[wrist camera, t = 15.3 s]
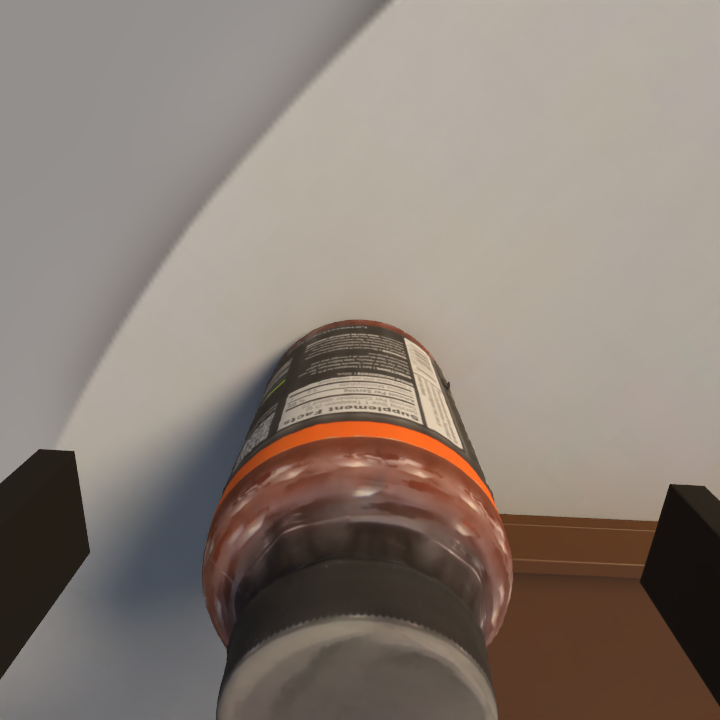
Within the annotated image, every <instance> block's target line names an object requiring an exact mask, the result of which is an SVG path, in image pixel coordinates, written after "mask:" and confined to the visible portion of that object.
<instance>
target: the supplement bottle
mask: <svg viewBox="0 0 720 720" xmlns="http://www.w3.org/2000/svg"><path fill="white" fill-rule="evenodd" d="M512 582H513V571H512V555H511V549H510V546H509V541H508V539H507V536H506V532H505V529H504V526H503V524H502V521H501V519H500V516H499V514H498V511H497V509H496V506H495V503H494V498H493V494H492V491H491V490H490V488H489V486H488V485H487V483H486V480H485V477H484V474H483V472H482V469H481V467H480V465H479V462H478V460H477V457H476V455H475V452H474V449H473V447H472V445H471V442H470V440H469V438H468V436H467V433H466V431H465V428H464V425H463V423H462V420H461V418H460V415H459V413H458V410H457V408H456V406H455V402H454V400H453V398H452V395H451V391H450V382H448V384H447V382H446V380H445V378H444V376H443V374H442V371H441V369H440V368H439V366H438V365H437V363H436V361H435V360H434V359H433V357H432V356H431V355H430V353H429V352H428V351H427V350H426V349H425V348H424V347H423V346H422V345H421V344H420V343H419V342H418V341H416V340H415V339H414V338H413V337H412V336H410V335H408V334H407V333H405V332H403V331H402V330H400V329H398V328H396V327H394V326H390V325H388V324H384V323H381V322H376V321H369V320H346V321H340V322H335V323H331V324H328V325H325V326H322V327H320V328H317V329H315V330H313V331H311V332H310V333H309V334H307V335H306V336H305V337H303V338H302V339H300V340H299V341H298V342H297V343H295V344H294V345H293V346H292V347H291V348H290V349H289V351H288V352H287V353H286V354H285V355H284V357H283V358H282V359H281V361H280V363H279V364H278V366H277V368H276V369H275V371H274V373H273V375H272V377H271V379H270V381H269V383H268V386H267V388H266V390H265V392H264V396H263V398H262V400H261V402H260V405H259V407H258V409H257V412H256V414H255V417H254V419H253V422H252V424H251V426H250V428H249V431H248V433H247V436H246V438H245V441H244V444H243V446H242V449H241V451H240V453H239V455H238V458H237V460H236V462H235V465H234V467H233V470H232V473H231V475H230V477H229V480H228V482H227V484H226V486H225V488H224V490H223V494H222V498H221V500H220V502H219V505H218V507H217V510H216V512H215V514H214V517H213V519H212V523H211V526H210V529H209V532H208V537H207V542H206V546H205V550H204V555H203V566H202V587H203V593H204V597H205V603H206V607H207V610H208V613H209V615H210V618H211V621H212V624H213V626H214V628H215V630H216V632H217V634H218V636H219V637H220V639H221V640H222V642H223V644H224V646H225V647H226V649H227V663H226V667H225V671H224V675H223V679H222V682H221V686H220V691H219V696H218V702H217V710H216V720H498V711H497V703H496V695H495V690H494V687H493V682H492V676H491V670H490V667H489V664H488V662H487V660H488V652H487V648H488V647H489V646H490V645H491V644H492V642H493V640H494V638H495V636H496V635H497V633H498V631H499V629H500V628H501V626H502V624H503V620H504V616H505V614H506V611H507V607H508V604H509V601H510V598H511V591H512Z"/></svg>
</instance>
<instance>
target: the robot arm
mask: <svg viewBox="0 0 720 720" xmlns="http://www.w3.org/2000/svg"><path fill="white" fill-rule="evenodd" d="M89 553H90V549H89V542H88V536H87V529H86V523H85V517H84V510H83V504H82V497H81V491H80V485H79V478H78V472H77V465H76V459H75V453H74V451H62V450H44V449H39V450H38V451H37V452H36V453H35V454H33V455H32V456H31V457H30V458H29V459H28V460H27V461H25V462H24V463H23V464H22V465H21V466H20V467H19V468H17V469H16V470H15V471H14V472H13V473H12V474H11V475H10V476H8V477H7V478H6V479H5V480H4V481H3V482H2V483H0V679H1V678H2V676H3V675H4V673H5V672H6V671H7V669H8V668H9V666H10V665H11V664H12V662H13V661H14V659H15V658H16V656H17V655H18V654H19V652H20V651H21V649H22V648H23V647H24V645H25V644H26V642H27V641H28V639H29V638H30V637H31V635H32V634H33V632H34V631H35V630H36V628H37V627H38V625H39V624H40V623H41V621H42V620H43V618H44V617H45V615H46V614H47V613H48V611H49V610H50V608H51V607H52V606H53V604H54V603H55V601H56V600H57V598H58V597H59V596H60V594H61V593H62V591H63V590H64V589H65V587H66V586H67V584H68V583H69V582H70V580H71V579H72V577H73V576H74V574H75V573H76V572H77V570H78V569H79V567H80V566H81V565H82V563H83V562H84V560H85V559H86V557H87V556H88V555H89ZM640 584H641V585H642V587H643V588H644V590H645V591H646V593H647V594H648V596H649V598H650V599H651V601H652V602H653V604H654V605H655V607H656V608H657V610H658V612H659V613H660V615H661V616H662V618H663V619H664V621H665V622H666V624H667V626H668V627H669V629H670V630H671V632H672V633H673V635H674V636H675V638H676V640H677V641H678V643H679V644H680V646H681V647H682V649H683V650H684V652H685V654H686V655H687V657H688V658H689V660H690V661H691V663H692V664H693V666H694V668H695V669H696V671H697V672H698V674H699V675H700V677H701V678H702V680H703V682H704V683H705V685H706V686H707V688H708V689H709V691H710V692H711V694H712V696H713V697H714V699H715V700H716V702H717V703H718V705H719V706H720V501H719V500H718V499H717V498H716V497H715V496H714V495H713V494H712V493H711V492H710V491H709V490H708V489H707V488H706V487H705V486H694V485H676V484H670V485H669V489H668V492H667V495H666V498H665V502H664V505H663V508H662V511H661V514H660V518H659V521H658V524H657V527H656V531H655V534H654V537H653V540H652V544H651V547H650V550H649V553H648V557H647V560H646V563H645V566H644V569H643V573H642V576H641V579H640Z"/></svg>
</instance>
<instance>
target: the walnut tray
mask: <svg viewBox="0 0 720 720" xmlns="http://www.w3.org/2000/svg"><path fill="white" fill-rule="evenodd" d="M499 516H500V519H501V521H502V524H503V526H504V529H505V532H506V536H507V539H508V541H509V546H510V549H511V555H512V571H513V582H512V591H511V598H510V601H509V604H508V607H507V611H506V614H505V616H504V620H503V624H502V626H501V628H500V629H499V631H498V633H497V635H496V636H495V638H494V640H493V642H492V644H491V645H490V646H489V647H488V648H487V652H488V660H487V662H488V664H489V667H490V670H491V676H492V682H493V687H494V690H495V695H496V703H497V711H498V720H720V706H719V705H718V703H717V702H716V700H715V699H714V697H713V696H712V694H711V692H710V691H709V689H708V688H707V686H706V685H705V683H704V682H703V680H702V678H701V677H700V675H699V674H698V672H697V671H696V669H695V668H694V666H693V664H692V663H691V661H690V660H689V658H688V657H687V655H686V654H685V652H684V650H683V649H682V647H681V646H680V644H679V643H678V641H677V640H676V638H675V636H674V635H673V633H672V632H671V630H670V629H669V627H668V626H667V624H666V622H665V621H664V619H663V618H662V616H661V615H660V613H659V612H658V610H657V608H656V607H655V605H654V604H653V602H652V601H651V599H650V598H649V596H648V594H647V593H646V591H645V590H644V588H643V587H642V585H641V584H640V579H641V576H642V573H643V569H644V566H645V563H646V560H647V557H648V553H649V550H650V547H651V544H652V540H653V537H654V534H655V531H656V527H657V524H658V522H654V521H633V520H612V519H591V518H570V517H549V516H528V515H507V514H499Z"/></svg>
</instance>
